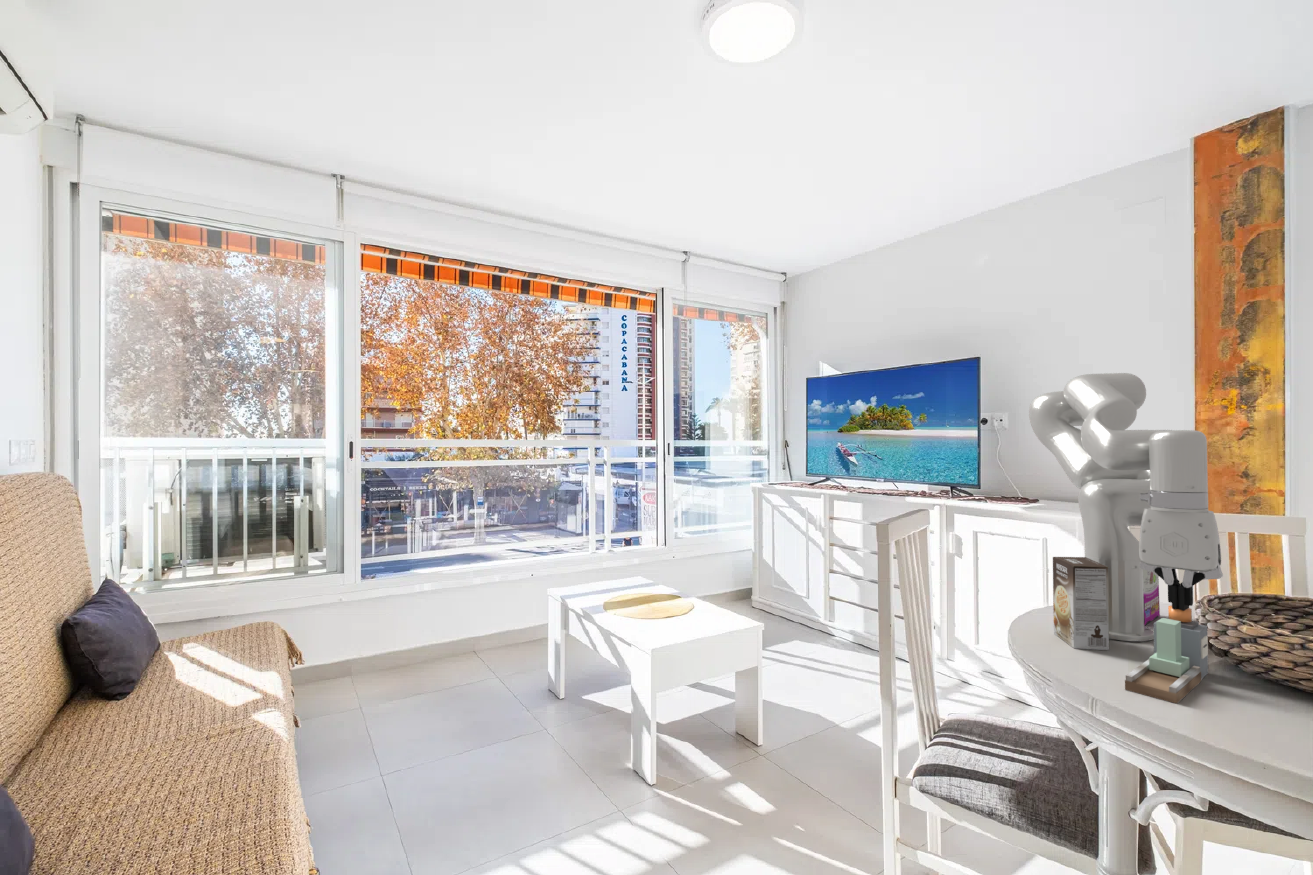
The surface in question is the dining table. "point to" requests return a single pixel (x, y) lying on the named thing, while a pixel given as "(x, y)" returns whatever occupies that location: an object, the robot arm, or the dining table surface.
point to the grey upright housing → (1192, 644)
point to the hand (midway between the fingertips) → (1180, 608)
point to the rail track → (1162, 683)
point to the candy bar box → (1150, 596)
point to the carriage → (1169, 649)
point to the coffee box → (1081, 602)
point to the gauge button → (1180, 614)
